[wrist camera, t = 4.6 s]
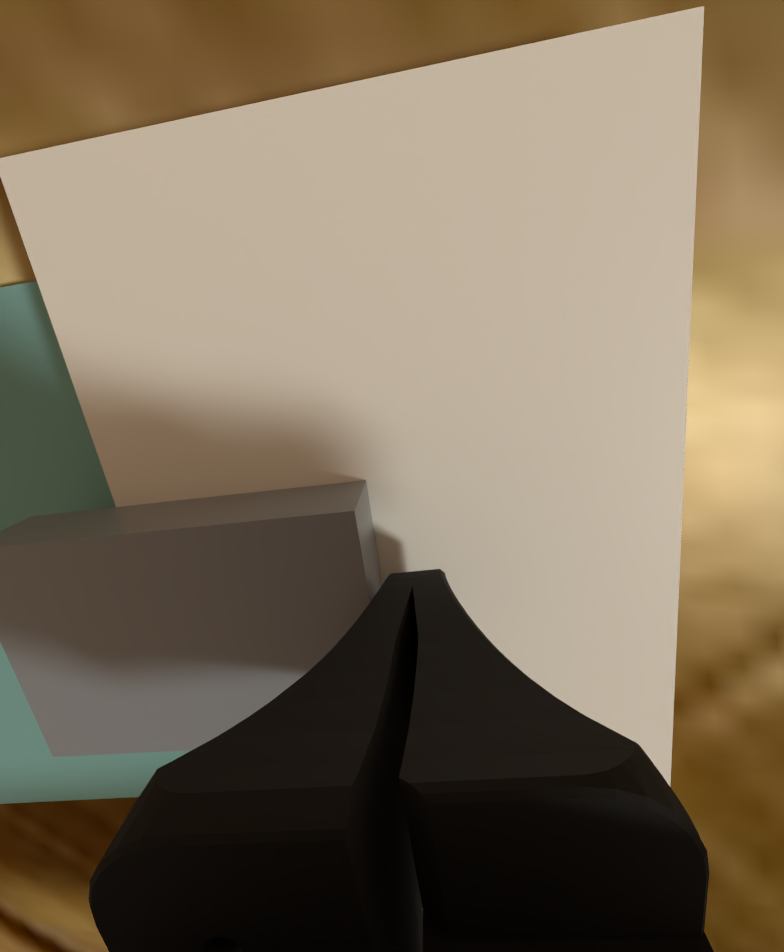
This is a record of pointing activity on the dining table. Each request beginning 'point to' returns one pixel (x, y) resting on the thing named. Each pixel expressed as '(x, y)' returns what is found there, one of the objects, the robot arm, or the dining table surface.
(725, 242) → the dining table surface
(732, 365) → the dining table surface
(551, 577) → the white flat board
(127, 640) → the grey bevelled tile
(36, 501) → the mat
